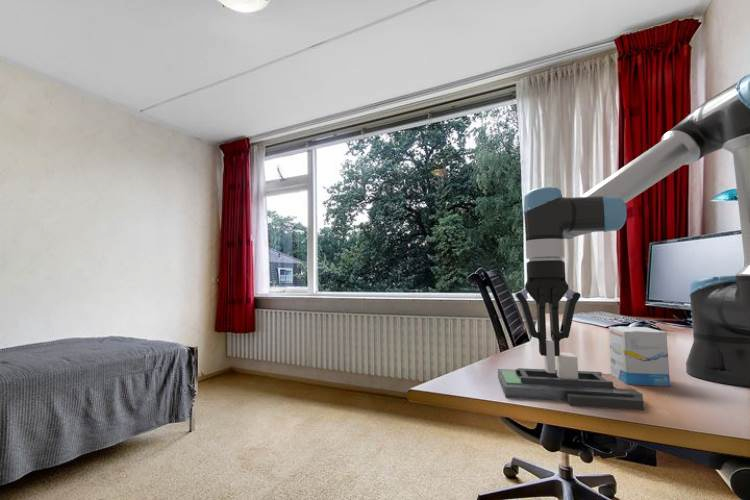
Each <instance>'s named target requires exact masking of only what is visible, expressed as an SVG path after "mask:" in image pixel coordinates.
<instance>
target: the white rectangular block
mask: <svg viewBox="0 0 750 500" xmlns="http://www.w3.org/2000/svg"><path fill="white" fill-rule="evenodd" d="M555 363H556V370H557V376H558V377H559V378H563V379H578V371H579V369H578V368H579V367H578V366H579V365H578V356H576V355H574V353H572V352H560V355H559V356H555Z"/></svg>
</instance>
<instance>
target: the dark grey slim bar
mask: <svg viewBox="0 0 750 500" xmlns="http://www.w3.org/2000/svg"><path fill="white" fill-rule="evenodd" d="M517 369H524V370H545V368H544V369H542V368H541V369H540V368H525V367H524V368H521V367H520V368H519V367H518V368H517ZM555 370H556V371H557V369H555ZM578 372H590V373H600V374H604V373H603V372H602V371H589V370H586V371H585V370H578Z"/></svg>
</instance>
